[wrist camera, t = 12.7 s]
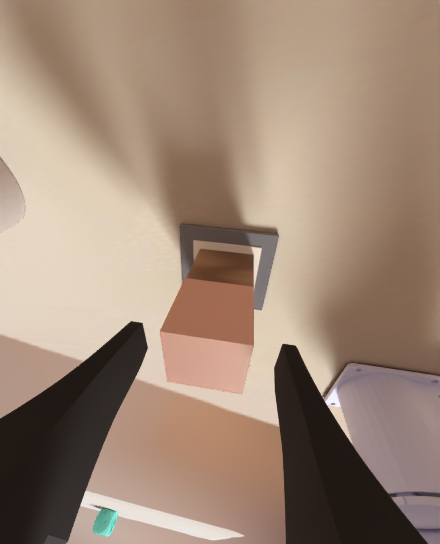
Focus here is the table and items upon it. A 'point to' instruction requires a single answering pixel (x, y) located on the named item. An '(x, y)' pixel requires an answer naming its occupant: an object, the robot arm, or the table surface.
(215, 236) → the mat
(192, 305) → the terracotta block
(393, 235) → the table surface
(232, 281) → the walnut block
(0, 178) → the coffee cup
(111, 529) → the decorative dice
